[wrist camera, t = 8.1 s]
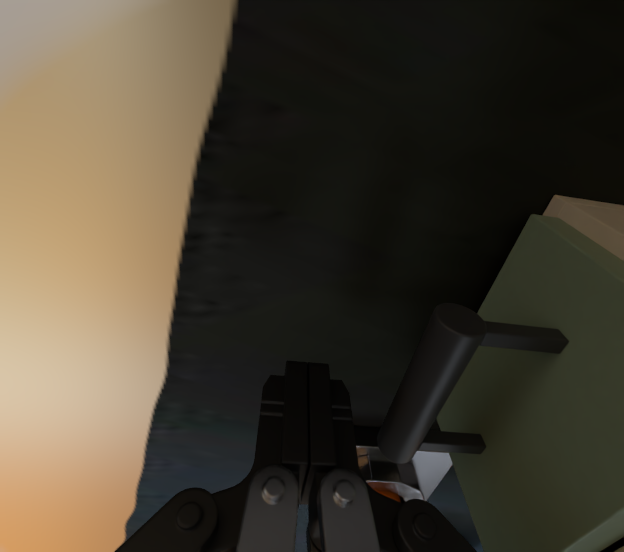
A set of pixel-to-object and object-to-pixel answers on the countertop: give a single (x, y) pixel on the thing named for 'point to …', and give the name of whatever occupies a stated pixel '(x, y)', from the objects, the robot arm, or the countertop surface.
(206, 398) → the countertop surface
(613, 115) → the countertop surface
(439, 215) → the countertop surface
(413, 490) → the control block
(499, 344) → the pull-out drawer
